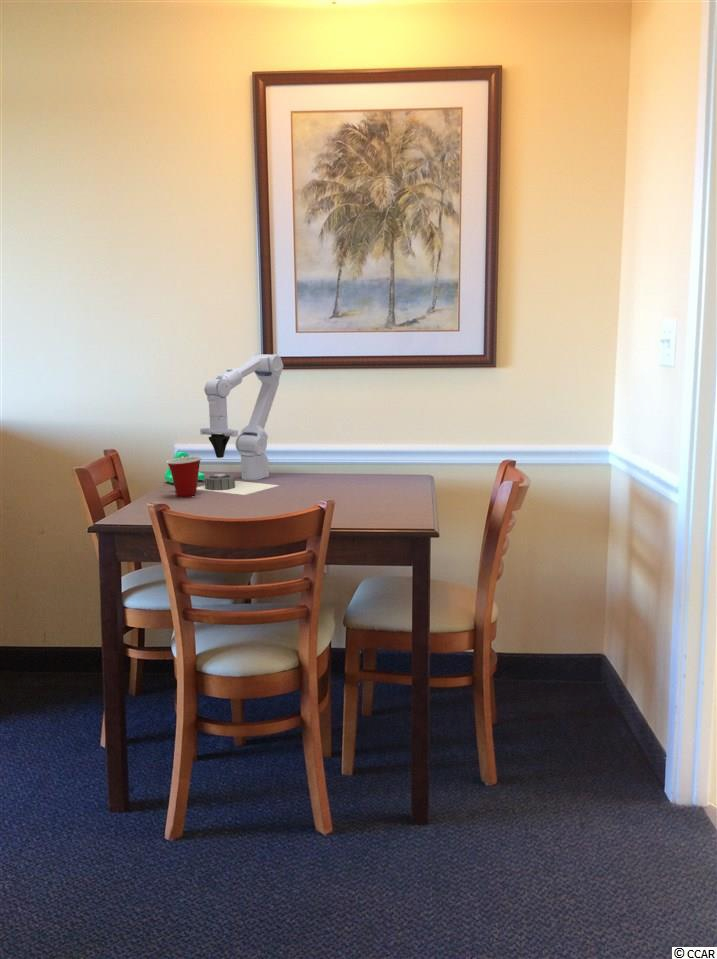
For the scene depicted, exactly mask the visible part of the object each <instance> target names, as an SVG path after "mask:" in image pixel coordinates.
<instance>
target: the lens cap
mask: <svg viewBox="0 0 717 959" xmlns="http://www.w3.org/2000/svg"><path fill="white" fill-rule="evenodd" d="M211 475H212V478H213V479H222V478H228V476H227V475H228V474H227V473H215V474H211Z"/></svg>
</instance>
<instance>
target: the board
mask: <svg viewBox="0 0 717 959" xmlns="http://www.w3.org/2000/svg"><path fill="white" fill-rule="evenodd" d="M212 475H213V474H211V475H205V479H204V485H201V486H197V489H196V491H197V490H198V491H205V492H206V491H208V492H216V493H221V494H222V493H224V494H232V495H242V496H247V495H250V494H253V493H257V492H260V491H265V490H268V489H272V488H276V487H279V486H281V485H278V484H269V483H261V482H260V483H259V482H250V481H242V480H236V475H234V474H227V476H228V478H222V479H213V478H212Z"/></svg>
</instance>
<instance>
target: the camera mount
mask: <svg viewBox="0 0 717 959" xmlns="http://www.w3.org/2000/svg"><path fill="white" fill-rule="evenodd" d="M182 457H191V455H189V454H188V453H187V452H185V451H178V452H176V453H175V455H174V456H173V458H172V459H176V458H182ZM205 477H206V474H205V473H202V472H200V471H199V472H198V481H202V480H203V481H205ZM164 480H165V481H166V482H169V483H172V484H174V482H173V478H172V474H171V470H170V467H169V466H168V468H167V470H166V472H165V474H164Z"/></svg>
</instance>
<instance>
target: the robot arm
mask: <svg viewBox="0 0 717 959" xmlns="http://www.w3.org/2000/svg"><path fill="white" fill-rule="evenodd" d="M283 368H284V363H283V361H282V358H281V356H280V355H279V354H276V353H273V354H267V353H266V354H262V353H261V354H260V353H256V354H254V355H252V356H250V357H249V359H248V360H247V361H246V362H244V363H243V364H242V365H240V366H239V367H238V368H234V367H233V368H231V367H229V368H227V369H226V371H225V372H223V373H221V374H218V375H217V377H216V378H210V379H209V380H207V381H206V383H205V386H204V388H203V391H204V394H205V395H206V396H207V398H206V400H207V401H208V409H209V410H208V414H209V417H208V418H209V428H208V427H207V428H205V427H203V428H200V430H199V431H200V432H199V434H200V436H201V435H203V436H204V435H208V440H209V442H210V443H211V446H212V447H213V451H214V454H215V457H216V458H218V459H221V458H224V457H225V452H226V447H227V445H228V442H229V440H230V439H231V437H232V438H235V443H234V444H235V449H236V451H238V455H240V463H241V466H240V467H241V468H240V469H241V480H245V481H256V480H258V481H259V480H262V479H263V478H269V477H270V470H269V468H270V467H269V459H268V456H267V455H266V454H265V453H266V452H265V451H266V450H267V447H268V446H267V445H268V444H267V443H268V442H267V441H268V438H269V435H268V434H267V432H266V431H265V427H266V424H267V422H268V418H269V415H270V412H271V409H272V406H273V403H274V400H275V397H276V394H277V390H278V389H279V384H280V378H281V375H282V372H283ZM253 373H254V374H255V375H256V377H257V379H258V380H259V381H260V382H261V386H260V390H259V392H258V396H257V398H256V401H255V403H254V407H253V411H252V413H251V416H250V419H249V422H248V424H247V425H246V426H245V427H244V428H242V429H241V431H240V433H239V430H237V429H232V428H229V427H228V405H227V404H228V402H227V397H228V396H229V395H230V392H231V390H233V389H234V388H236V387H237V386H239V385H240V384H242V382H243V378H245V377H247V376H248V375H251V374H253Z"/></svg>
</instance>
